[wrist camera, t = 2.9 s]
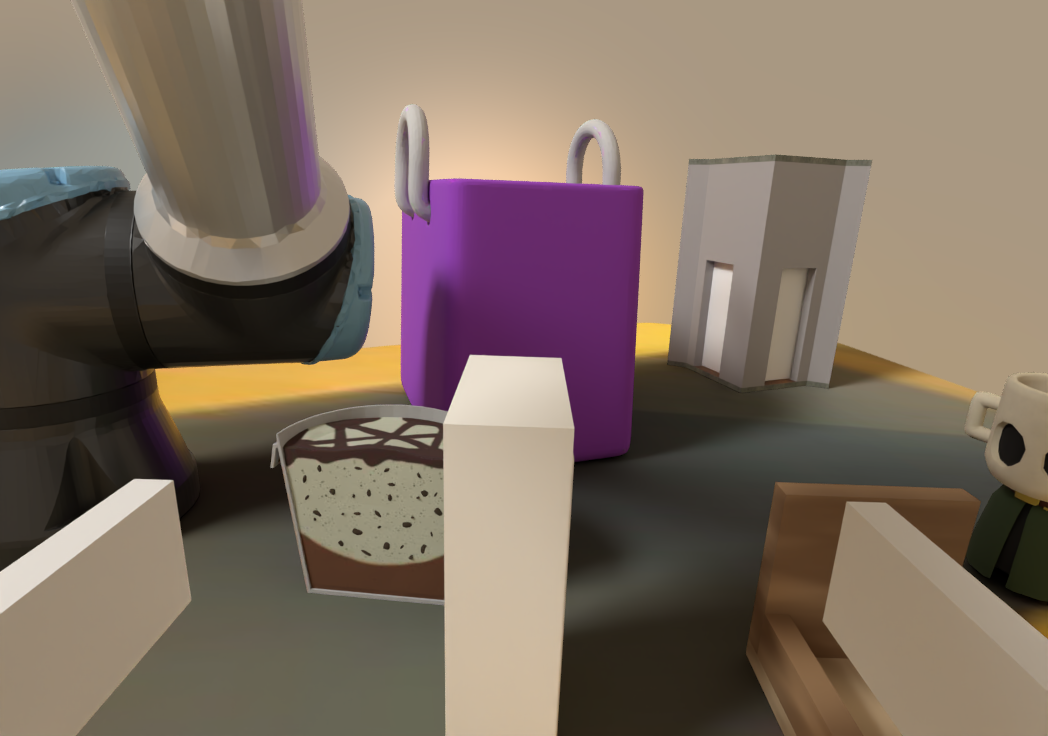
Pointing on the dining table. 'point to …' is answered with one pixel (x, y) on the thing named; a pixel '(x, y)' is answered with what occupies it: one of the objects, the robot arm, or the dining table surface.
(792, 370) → the grey tall angular block
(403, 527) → the food container
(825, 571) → the wooden holder
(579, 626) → the dining table surface
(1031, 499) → the character mug
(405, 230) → the shopping bag
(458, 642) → the white rectangular box
